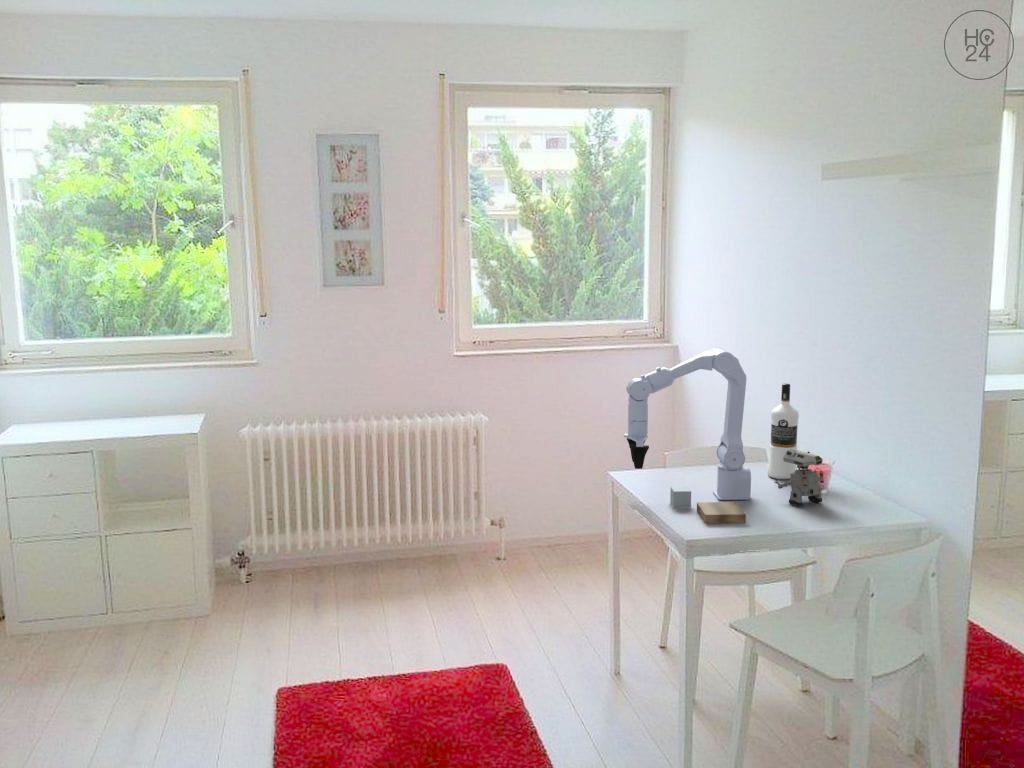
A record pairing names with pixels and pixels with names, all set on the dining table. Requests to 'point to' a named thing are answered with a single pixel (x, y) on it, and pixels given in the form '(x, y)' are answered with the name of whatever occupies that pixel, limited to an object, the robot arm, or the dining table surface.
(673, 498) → the block
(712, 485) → the dining table surface
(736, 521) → the plinth
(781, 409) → the vodka
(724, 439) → the robot arm
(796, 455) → the figurine
